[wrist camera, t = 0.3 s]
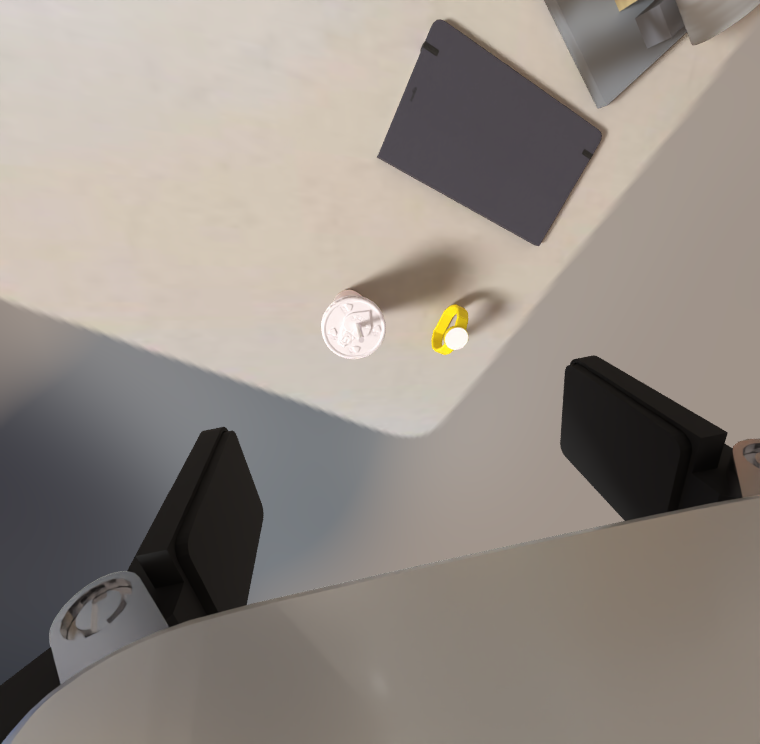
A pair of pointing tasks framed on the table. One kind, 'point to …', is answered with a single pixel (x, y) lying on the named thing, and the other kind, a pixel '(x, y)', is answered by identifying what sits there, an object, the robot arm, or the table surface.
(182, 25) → the table surface
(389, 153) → the notebook
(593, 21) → the valve stand
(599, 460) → the robot arm
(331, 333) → the smoothie
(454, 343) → the watch
